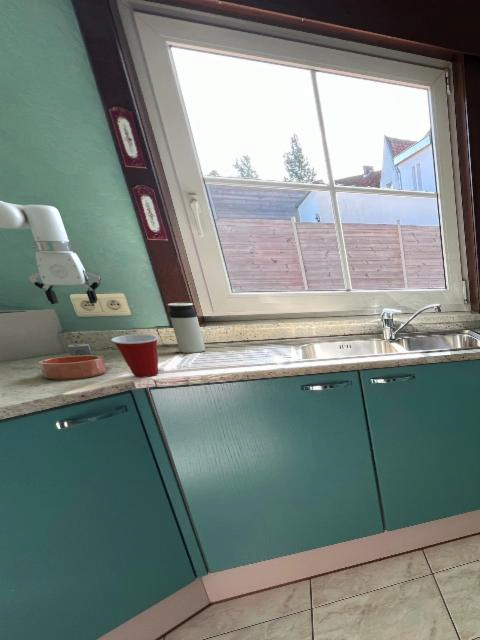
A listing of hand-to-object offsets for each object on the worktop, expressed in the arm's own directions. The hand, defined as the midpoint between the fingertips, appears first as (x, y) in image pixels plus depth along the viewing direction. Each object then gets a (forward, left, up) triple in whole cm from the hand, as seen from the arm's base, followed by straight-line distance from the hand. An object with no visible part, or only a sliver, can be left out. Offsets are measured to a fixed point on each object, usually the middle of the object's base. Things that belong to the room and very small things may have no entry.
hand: (74, 303), depth 163 cm
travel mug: (+25, +12, -20) cm, 34 cm away
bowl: (+1, -23, -20) cm, 30 cm away
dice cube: (-5, +6, -20) cm, 21 cm away
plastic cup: (+19, -30, -20) cm, 41 cm away
